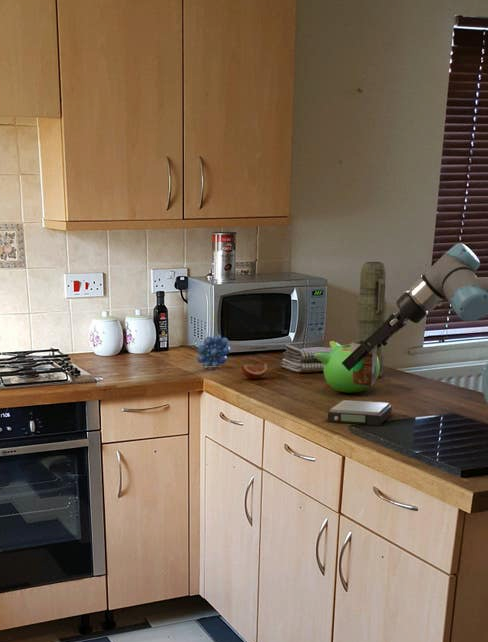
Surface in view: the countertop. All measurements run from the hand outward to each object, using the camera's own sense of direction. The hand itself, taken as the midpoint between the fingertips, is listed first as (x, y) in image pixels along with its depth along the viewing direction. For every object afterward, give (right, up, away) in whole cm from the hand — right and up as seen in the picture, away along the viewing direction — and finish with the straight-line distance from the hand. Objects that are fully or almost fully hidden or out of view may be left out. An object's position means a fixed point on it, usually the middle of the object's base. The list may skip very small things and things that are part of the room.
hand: (352, 362), depth 218 cm
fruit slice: (-18, +6, +63) cm, 66 cm away
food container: (+2, -5, 0) cm, 5 cm away
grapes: (-30, +14, +84) cm, 91 cm away
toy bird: (+7, -2, +37) cm, 38 cm away
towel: (+3, +12, +78) cm, 79 cm away
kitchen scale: (+3, -13, +3) cm, 14 cm away
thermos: (+18, +7, +62) cm, 65 cm away
